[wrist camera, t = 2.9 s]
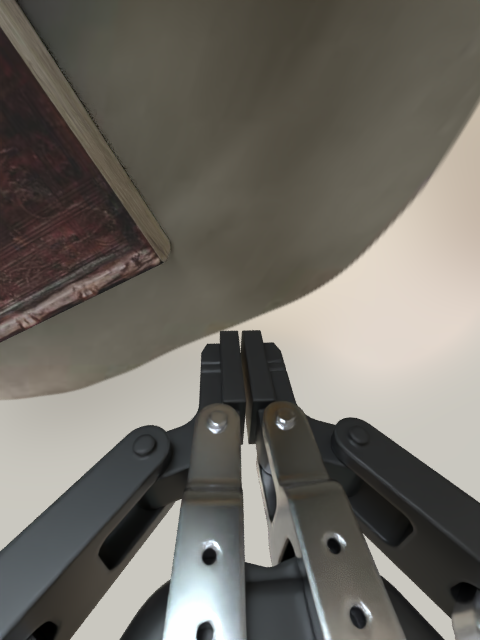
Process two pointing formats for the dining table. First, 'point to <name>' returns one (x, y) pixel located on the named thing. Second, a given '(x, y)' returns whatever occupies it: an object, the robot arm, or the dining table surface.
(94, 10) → the dining table surface
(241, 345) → the robot arm
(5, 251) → the hardback book
